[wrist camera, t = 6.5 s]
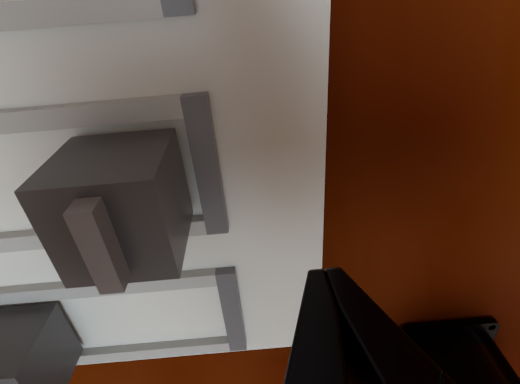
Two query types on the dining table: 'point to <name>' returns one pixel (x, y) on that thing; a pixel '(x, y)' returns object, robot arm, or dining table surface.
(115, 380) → the dining table surface
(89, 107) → the breaker board
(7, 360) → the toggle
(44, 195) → the toggle middle
